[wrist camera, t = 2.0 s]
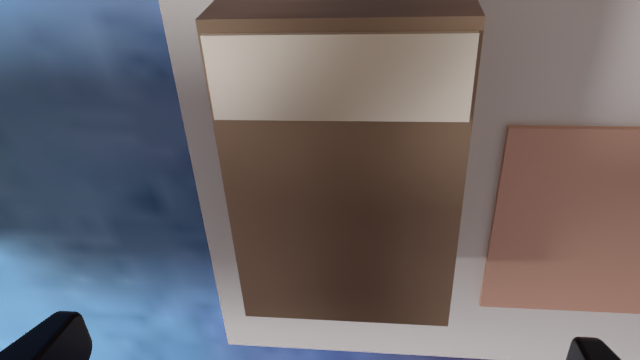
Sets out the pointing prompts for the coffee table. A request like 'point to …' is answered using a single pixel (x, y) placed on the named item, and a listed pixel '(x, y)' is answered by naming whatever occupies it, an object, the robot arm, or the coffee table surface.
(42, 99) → the coffee table surface
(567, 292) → the mat
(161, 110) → the coffee table surface
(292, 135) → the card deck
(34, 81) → the coffee table surface
